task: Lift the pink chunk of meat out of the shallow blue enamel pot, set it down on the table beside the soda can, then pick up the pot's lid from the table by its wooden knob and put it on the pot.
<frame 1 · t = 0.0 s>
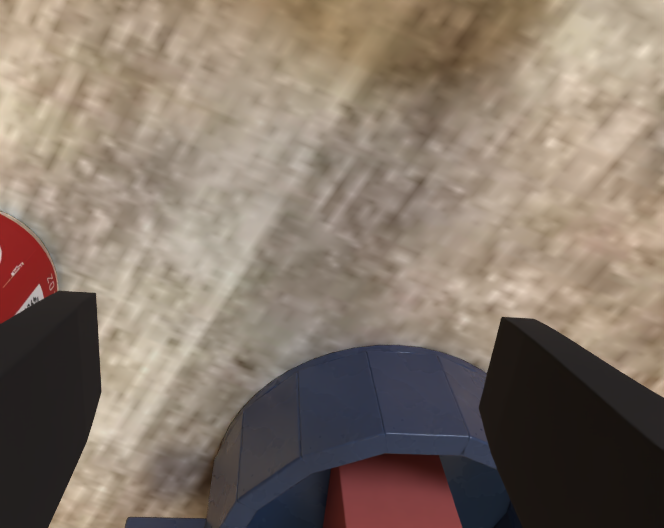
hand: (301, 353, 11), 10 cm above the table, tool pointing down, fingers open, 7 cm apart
meat: (376, 487, 26), resting on pot
pot: (375, 478, 26), on the table
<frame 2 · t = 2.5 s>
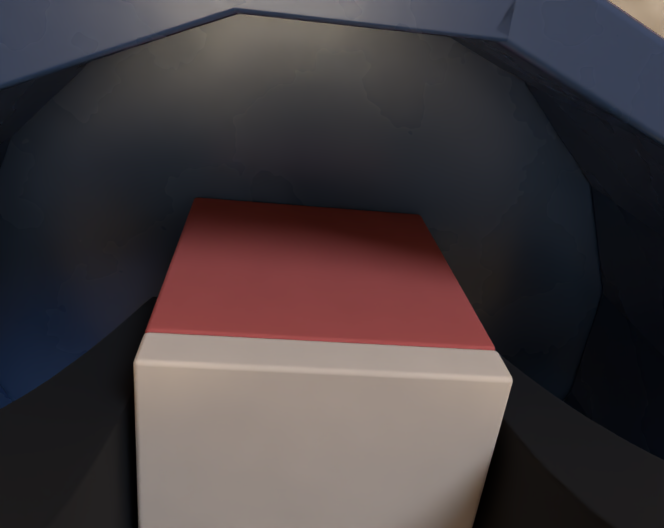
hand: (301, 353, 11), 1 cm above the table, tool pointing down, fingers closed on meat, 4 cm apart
meat: (297, 327, 12), point 1 cm above the table, touching gripper, pot
pot: (298, 314, 12), on the table
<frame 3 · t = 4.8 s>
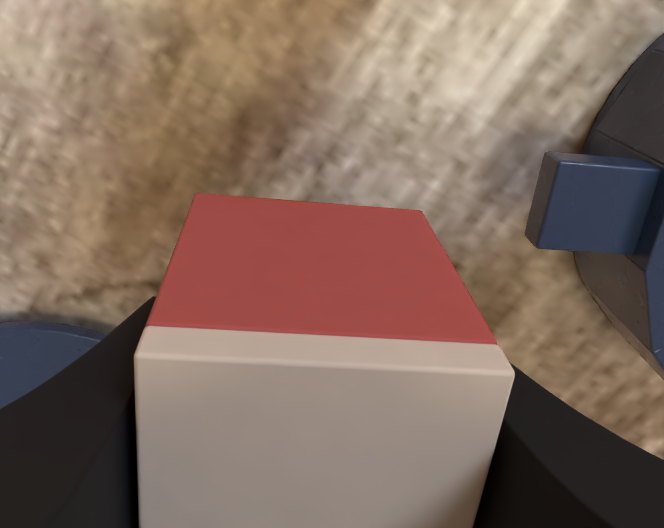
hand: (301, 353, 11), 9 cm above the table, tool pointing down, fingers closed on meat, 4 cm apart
meat: (298, 323, 12), point 8 cm above the table, touching gripper
pot lid: (54, 483, 23), point 1 cm above the table
when the fingers open (1 cm above the table, at t = 7.5 s): meat stays where it is, on the table.
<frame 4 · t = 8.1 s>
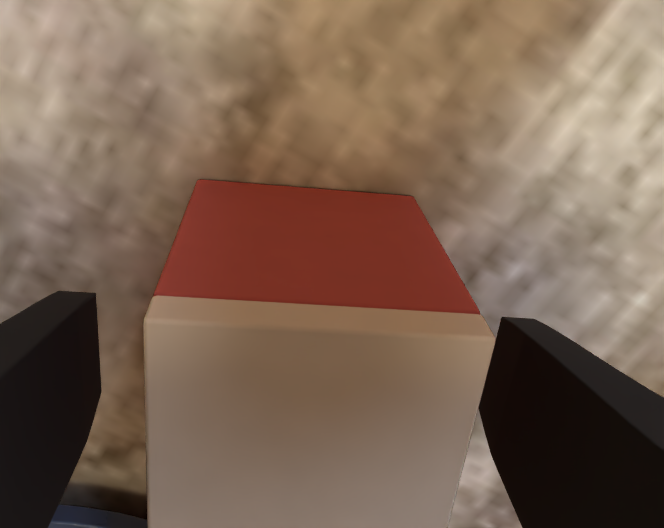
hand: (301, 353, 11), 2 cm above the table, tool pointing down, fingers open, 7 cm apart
meat: (296, 305, 13), on the table
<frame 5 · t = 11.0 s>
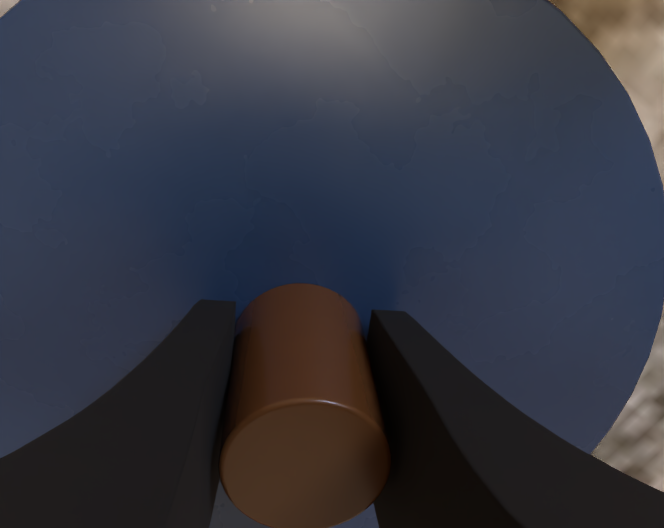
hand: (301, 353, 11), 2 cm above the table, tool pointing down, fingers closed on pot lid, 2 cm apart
pot lid: (298, 324, 12), point 1 cm above the table, touching gripper
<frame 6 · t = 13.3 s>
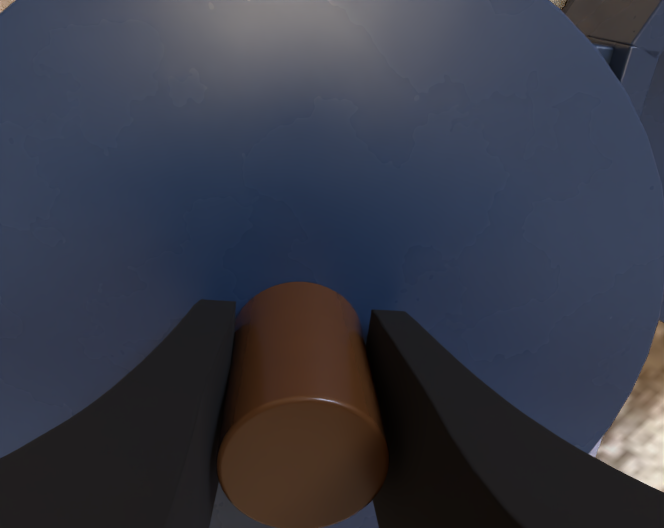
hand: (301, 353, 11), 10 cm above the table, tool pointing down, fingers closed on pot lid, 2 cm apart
pot lid: (297, 323, 12), point 9 cm above the table, touching gripper
when the fingers open (6 cm above the table, at t = 15.9 s): pot lid stays where it is, resting on pot.
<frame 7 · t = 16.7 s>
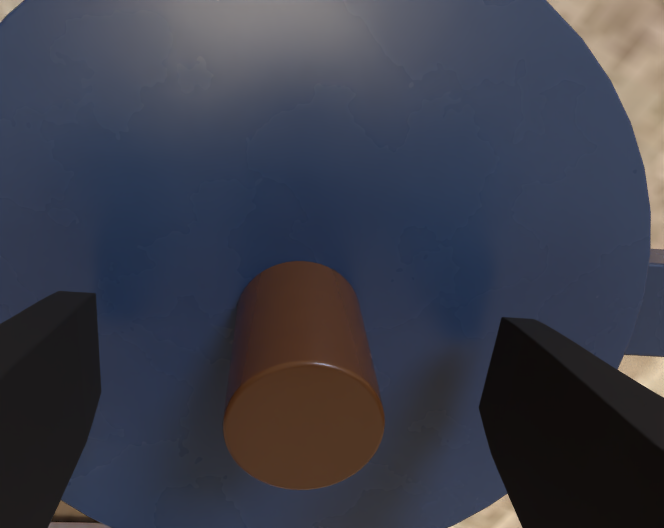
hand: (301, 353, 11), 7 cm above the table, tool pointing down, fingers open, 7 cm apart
pot: (294, 217, 17), on the table
pot lid: (298, 302, 13), point 5 cm above the table, touching pot
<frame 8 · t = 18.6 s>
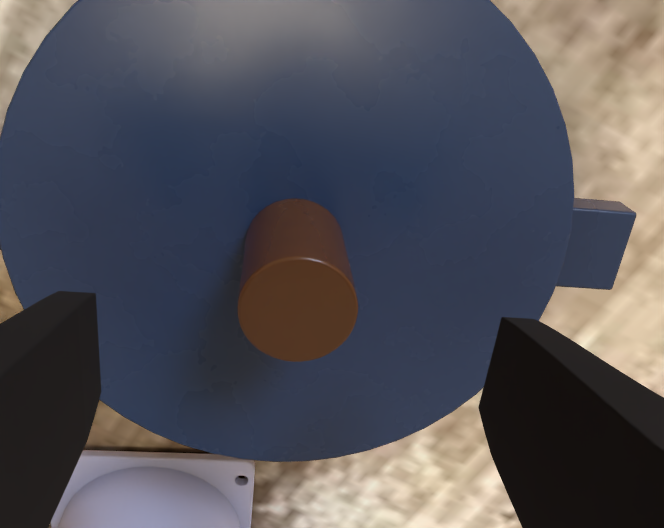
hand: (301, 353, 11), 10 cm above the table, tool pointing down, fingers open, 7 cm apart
pot: (291, 179, 20), on the table
pot lid: (294, 235, 16), point 5 cm above the table, touching pot
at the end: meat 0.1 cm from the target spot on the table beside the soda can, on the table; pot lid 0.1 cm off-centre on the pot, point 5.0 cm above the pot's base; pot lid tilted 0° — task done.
